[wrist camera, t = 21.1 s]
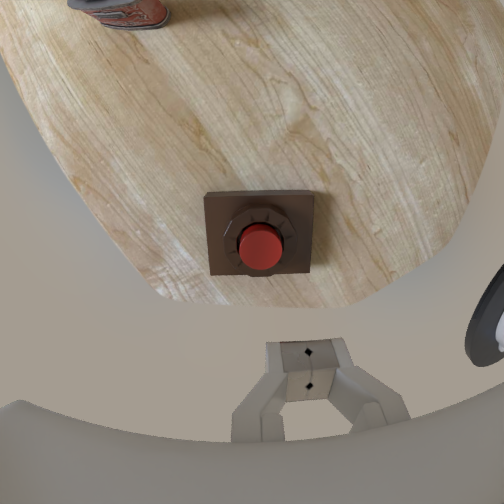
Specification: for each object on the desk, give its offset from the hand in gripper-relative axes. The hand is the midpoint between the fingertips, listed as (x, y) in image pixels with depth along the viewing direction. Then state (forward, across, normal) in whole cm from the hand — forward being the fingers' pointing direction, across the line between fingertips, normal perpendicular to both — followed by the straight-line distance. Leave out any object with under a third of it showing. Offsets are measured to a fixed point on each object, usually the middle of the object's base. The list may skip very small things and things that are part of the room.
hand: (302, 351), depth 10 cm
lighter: (+20, +13, -22) cm, 32 cm away
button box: (+19, +1, +2) cm, 19 cm away
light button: (+16, +1, +2) cm, 16 cm away
